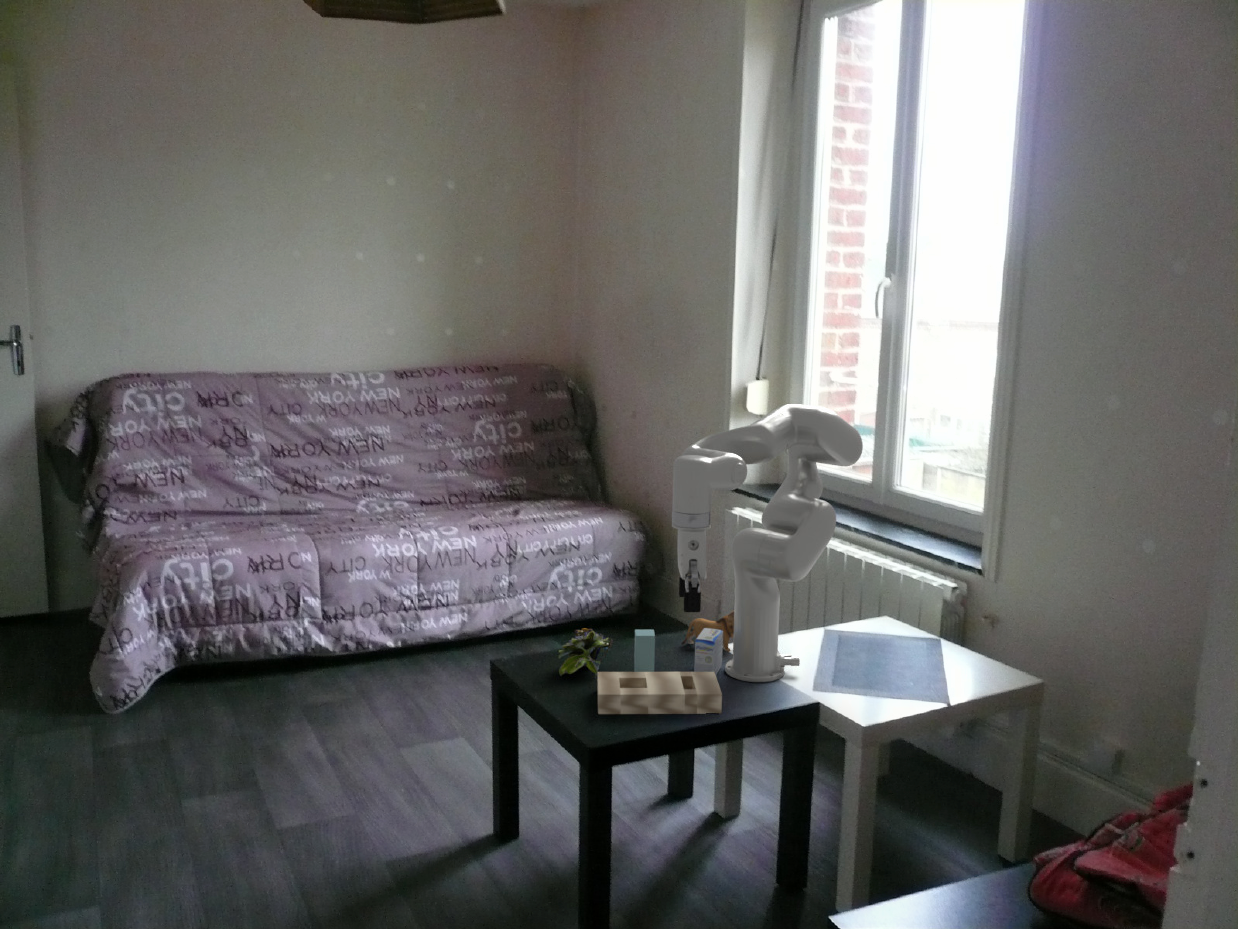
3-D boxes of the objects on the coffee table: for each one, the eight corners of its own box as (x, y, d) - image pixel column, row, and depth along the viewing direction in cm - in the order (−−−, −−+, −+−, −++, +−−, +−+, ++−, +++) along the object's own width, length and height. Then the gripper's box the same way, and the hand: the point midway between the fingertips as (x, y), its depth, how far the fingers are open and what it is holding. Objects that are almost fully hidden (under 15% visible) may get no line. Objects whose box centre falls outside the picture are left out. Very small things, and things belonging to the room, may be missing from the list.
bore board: (713, 690, 221) (714, 671, 220) (721, 713, 209) (721, 694, 208) (597, 690, 220) (597, 671, 219) (598, 714, 208) (598, 694, 207)
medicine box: (702, 665, 235) (703, 627, 234) (722, 667, 234) (723, 629, 232) (693, 677, 228) (694, 638, 226) (714, 680, 226) (715, 641, 225)
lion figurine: (743, 644, 249) (744, 606, 247) (745, 652, 243) (746, 614, 242) (680, 643, 249) (680, 605, 247) (680, 650, 244) (681, 612, 242)
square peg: (652, 674, 229) (653, 629, 228) (654, 681, 225) (654, 635, 224) (634, 674, 229) (634, 629, 227) (635, 681, 225) (635, 635, 223)
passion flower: (582, 690, 234) (606, 640, 238) (606, 698, 225) (631, 646, 228) (542, 667, 230) (567, 617, 233) (564, 675, 220) (590, 622, 224)
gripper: (716, 529, 200) (713, 618, 203) (705, 509, 217) (703, 591, 220) (676, 529, 199) (674, 618, 202) (668, 509, 216) (666, 591, 219)
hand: (689, 604), depth 211 cm, fingers open, 9 cm apart
